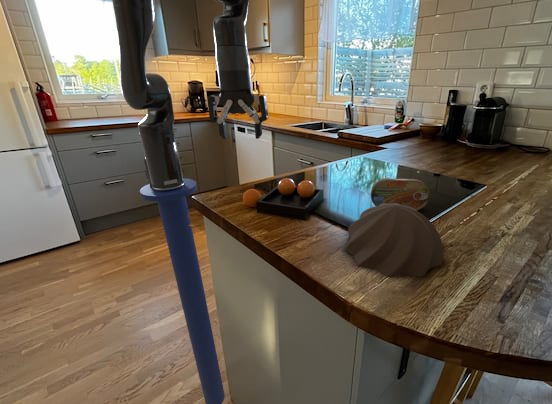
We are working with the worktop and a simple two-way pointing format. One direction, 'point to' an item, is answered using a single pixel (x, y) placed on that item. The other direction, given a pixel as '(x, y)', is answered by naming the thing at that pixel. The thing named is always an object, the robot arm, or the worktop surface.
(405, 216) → the decorative dome
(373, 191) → the tin
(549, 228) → the worktop surface
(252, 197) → the clementine
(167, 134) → the robot arm
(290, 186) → the tray
